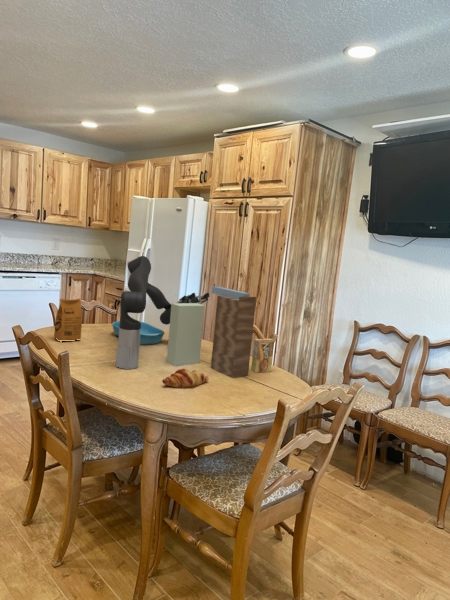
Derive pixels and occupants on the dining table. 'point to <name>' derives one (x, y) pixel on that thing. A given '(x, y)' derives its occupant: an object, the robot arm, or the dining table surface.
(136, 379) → the dining table surface
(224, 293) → the rail
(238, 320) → the post
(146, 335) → the casserole dish
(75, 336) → the coffee package
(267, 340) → the candy box
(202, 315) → the step
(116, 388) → the dining table surface
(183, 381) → the croissant
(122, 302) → the robot arm
